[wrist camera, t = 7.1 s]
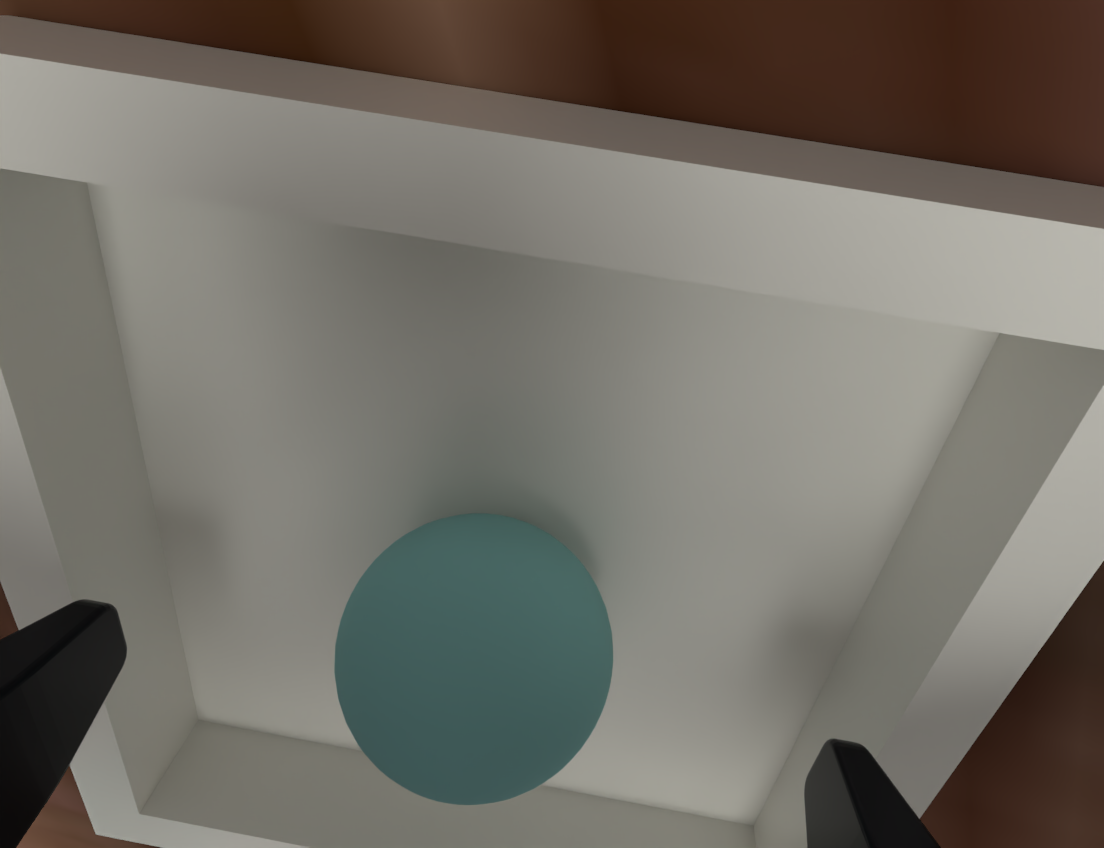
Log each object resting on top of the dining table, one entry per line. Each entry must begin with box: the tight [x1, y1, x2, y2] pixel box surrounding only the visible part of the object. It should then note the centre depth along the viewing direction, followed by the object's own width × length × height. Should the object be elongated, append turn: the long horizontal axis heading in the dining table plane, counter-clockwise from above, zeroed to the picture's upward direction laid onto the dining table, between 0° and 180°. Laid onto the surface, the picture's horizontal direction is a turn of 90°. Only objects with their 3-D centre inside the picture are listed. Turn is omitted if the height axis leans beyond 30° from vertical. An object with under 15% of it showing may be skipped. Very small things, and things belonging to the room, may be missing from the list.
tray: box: [0, 16, 1104, 848], centre depth 10 cm, size 13×13×2 cm
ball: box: [334, 513, 613, 805], centre depth 9 cm, size 4×4×4 cm
